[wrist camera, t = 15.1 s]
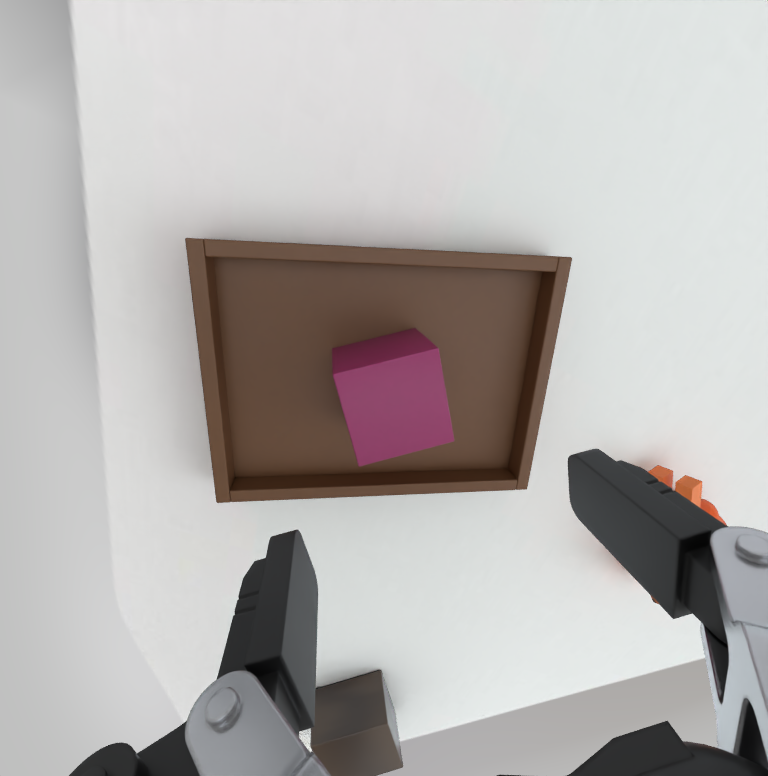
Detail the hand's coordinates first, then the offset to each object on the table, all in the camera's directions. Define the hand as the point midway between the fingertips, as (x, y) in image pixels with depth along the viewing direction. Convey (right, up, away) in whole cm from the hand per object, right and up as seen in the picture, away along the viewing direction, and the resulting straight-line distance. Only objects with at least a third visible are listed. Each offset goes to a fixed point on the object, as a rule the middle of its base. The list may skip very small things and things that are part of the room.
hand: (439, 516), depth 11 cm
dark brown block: (-4, -24, +22) cm, 33 cm away
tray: (-2, +5, +13) cm, 14 cm away
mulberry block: (-2, +4, +12) cm, 13 cm away
